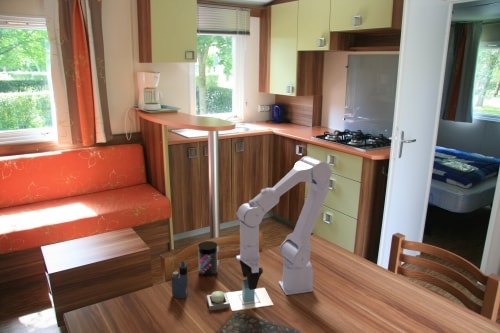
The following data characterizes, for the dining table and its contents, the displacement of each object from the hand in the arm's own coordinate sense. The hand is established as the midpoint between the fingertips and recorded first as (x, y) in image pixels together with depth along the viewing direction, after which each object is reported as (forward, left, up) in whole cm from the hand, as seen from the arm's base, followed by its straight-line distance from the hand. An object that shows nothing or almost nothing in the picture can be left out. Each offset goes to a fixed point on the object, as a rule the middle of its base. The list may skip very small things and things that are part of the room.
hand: (249, 282), depth 126 cm
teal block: (0, 0, -6) cm, 6 cm away
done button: (+10, 0, -4) cm, 11 cm away
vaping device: (+21, -7, -6) cm, 23 cm away
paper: (0, 0, -6) cm, 6 cm away
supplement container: (+10, -20, -6) cm, 23 cm away
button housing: (+10, 0, -6) cm, 12 cm away
